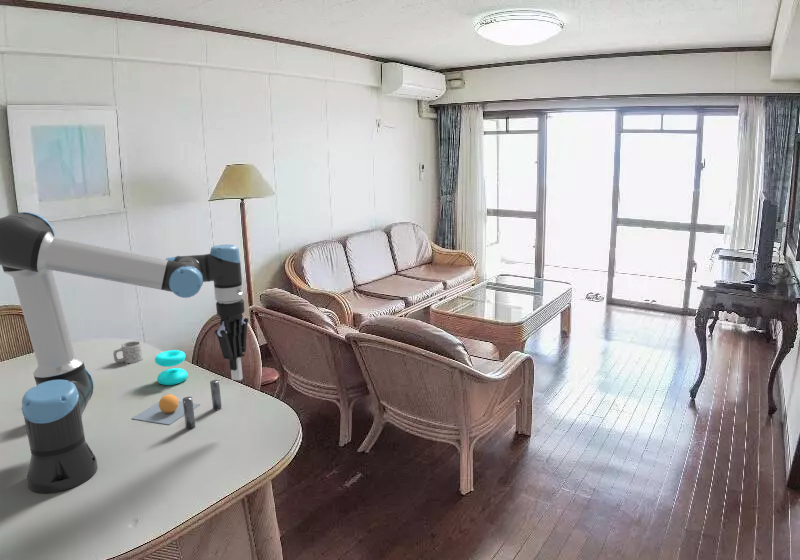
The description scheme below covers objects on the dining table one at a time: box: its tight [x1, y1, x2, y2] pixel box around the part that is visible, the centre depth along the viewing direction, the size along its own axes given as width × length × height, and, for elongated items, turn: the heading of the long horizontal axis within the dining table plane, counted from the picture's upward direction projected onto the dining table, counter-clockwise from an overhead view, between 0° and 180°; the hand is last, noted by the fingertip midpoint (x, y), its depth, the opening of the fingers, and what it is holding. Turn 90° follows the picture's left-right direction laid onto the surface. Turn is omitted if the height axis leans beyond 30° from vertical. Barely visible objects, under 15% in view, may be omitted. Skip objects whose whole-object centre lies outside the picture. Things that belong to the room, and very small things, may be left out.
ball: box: [158, 394, 179, 413], centre depth 177 cm, size 6×6×6 cm
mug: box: [113, 340, 144, 364], centre depth 221 cm, size 10×7×7 cm
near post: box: [182, 396, 196, 430], centre depth 167 cm, size 3×3×9 cm
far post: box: [209, 379, 223, 411], centre depth 178 cm, size 3×3×9 cm
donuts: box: [154, 349, 189, 386], centre depth 201 cm, size 10×10×10 cm
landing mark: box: [130, 400, 201, 426], centre depth 178 cm, size 14×14×1 cm
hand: (237, 378), depth 166 cm, fingers closed
